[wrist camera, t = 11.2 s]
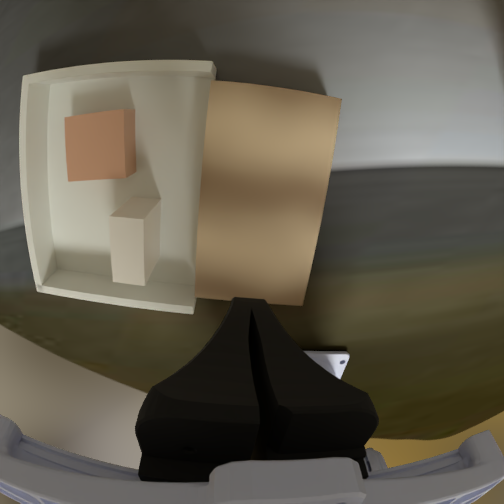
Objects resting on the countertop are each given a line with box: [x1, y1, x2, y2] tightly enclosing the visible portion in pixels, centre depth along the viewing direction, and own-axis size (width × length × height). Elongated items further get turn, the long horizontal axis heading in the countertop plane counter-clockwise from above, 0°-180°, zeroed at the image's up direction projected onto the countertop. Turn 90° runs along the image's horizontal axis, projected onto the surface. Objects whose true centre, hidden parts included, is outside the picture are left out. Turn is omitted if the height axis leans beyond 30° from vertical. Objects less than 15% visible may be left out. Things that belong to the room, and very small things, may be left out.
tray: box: [19, 60, 217, 314], centre depth 17 cm, size 15×12×3 cm
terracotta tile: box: [64, 109, 136, 182], centre depth 16 cm, size 4×4×2 cm
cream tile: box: [109, 197, 161, 286], centre depth 18 cm, size 4×4×2 cm
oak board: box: [195, 80, 342, 306], centre depth 18 cm, size 13×7×2 cm, turn 173°
